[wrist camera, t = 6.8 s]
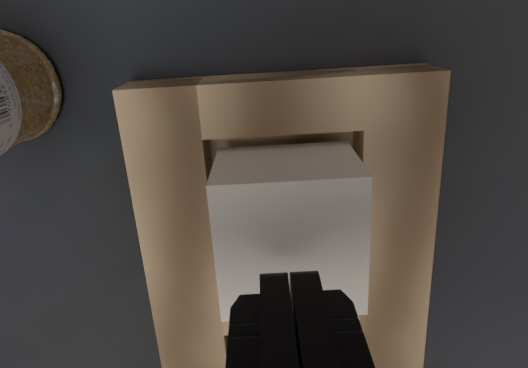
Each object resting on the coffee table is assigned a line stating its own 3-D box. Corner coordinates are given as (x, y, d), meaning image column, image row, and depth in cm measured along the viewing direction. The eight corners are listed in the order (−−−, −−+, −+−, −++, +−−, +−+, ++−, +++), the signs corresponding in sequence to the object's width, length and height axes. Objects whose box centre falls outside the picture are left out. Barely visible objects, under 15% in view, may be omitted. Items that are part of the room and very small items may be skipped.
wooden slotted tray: (426, 62, 18) (450, 70, 15) (392, 518, 28) (404, 564, 26) (131, 80, 18) (112, 90, 16) (204, 526, 28) (198, 572, 26)
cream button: (347, 141, 17) (372, 176, 13) (346, 254, 19) (367, 314, 15) (218, 148, 17) (205, 186, 13) (229, 260, 19) (221, 322, 15)
